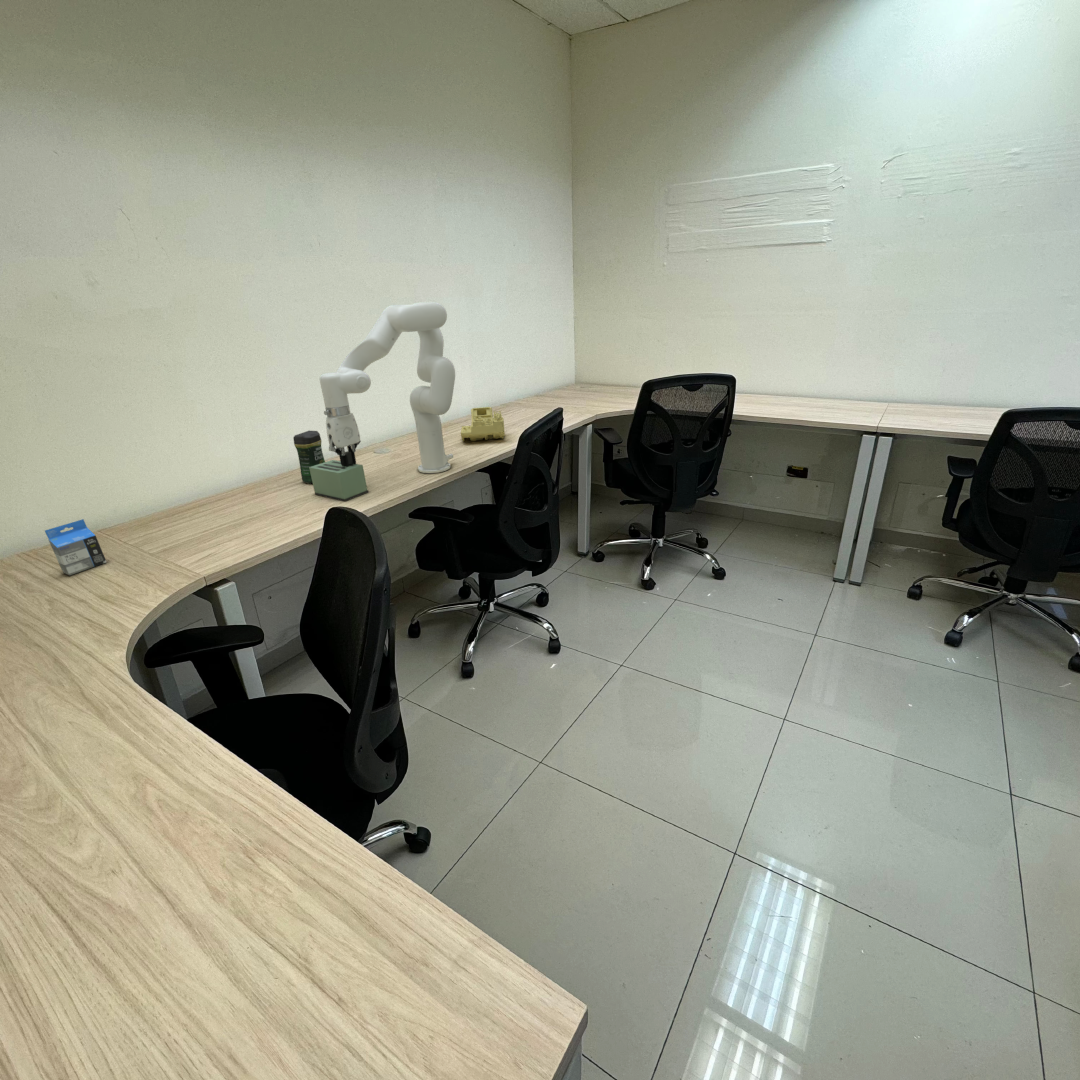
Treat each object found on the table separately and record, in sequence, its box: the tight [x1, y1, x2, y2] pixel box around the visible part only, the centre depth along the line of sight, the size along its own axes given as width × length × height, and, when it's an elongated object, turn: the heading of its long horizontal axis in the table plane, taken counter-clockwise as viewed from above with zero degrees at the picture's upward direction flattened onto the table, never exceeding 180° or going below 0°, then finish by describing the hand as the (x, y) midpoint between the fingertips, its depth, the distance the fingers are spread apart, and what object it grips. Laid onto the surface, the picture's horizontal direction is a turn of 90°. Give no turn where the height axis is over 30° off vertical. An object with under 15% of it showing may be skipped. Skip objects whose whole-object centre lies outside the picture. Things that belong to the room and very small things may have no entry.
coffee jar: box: [293, 430, 326, 484], centre depth 206 cm, size 10×8×19 cm
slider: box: [345, 450, 353, 464], centre depth 190 cm, size 2×2×4 cm
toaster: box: [309, 459, 369, 502], centre depth 192 cm, size 10×16×10 cm, turn 57°
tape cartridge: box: [44, 518, 107, 576], centre depth 146 cm, size 9×4×12 cm, turn 148°
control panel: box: [460, 406, 506, 442], centre depth 255 cm, size 24×16×20 cm
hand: (348, 464), depth 191 cm, fingers closed on slider, 2 cm apart
